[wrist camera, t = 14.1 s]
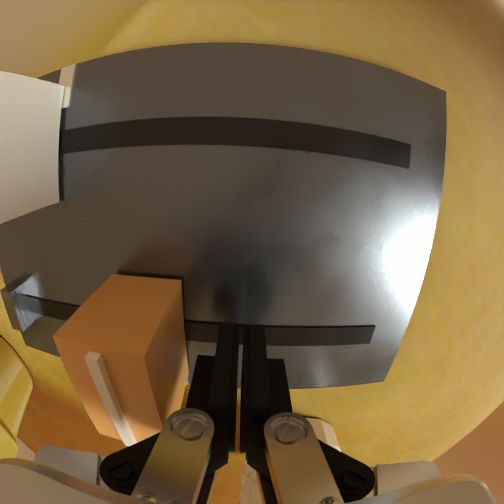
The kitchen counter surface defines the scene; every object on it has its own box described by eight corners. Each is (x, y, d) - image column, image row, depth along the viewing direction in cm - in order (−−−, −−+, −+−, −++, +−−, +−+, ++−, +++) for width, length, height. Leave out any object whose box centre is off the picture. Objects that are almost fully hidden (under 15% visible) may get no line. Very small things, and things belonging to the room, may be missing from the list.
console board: (427, 96, 9) (462, 87, 7) (375, 364, 14) (391, 395, 12) (11, 99, 8) (-20, 97, 6) (37, 333, 13) (16, 355, 11)
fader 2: (181, 280, 10) (140, 364, 6) (188, 373, 12) (169, 457, 7) (112, 274, 10) (47, 342, 6) (131, 364, 12) (97, 438, 7)
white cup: (215, 440, 17) (206, 555, 7) (299, 396, 15) (325, 545, 5) (283, 467, 18) (291, 558, 9) (359, 430, 17) (390, 533, 7)
